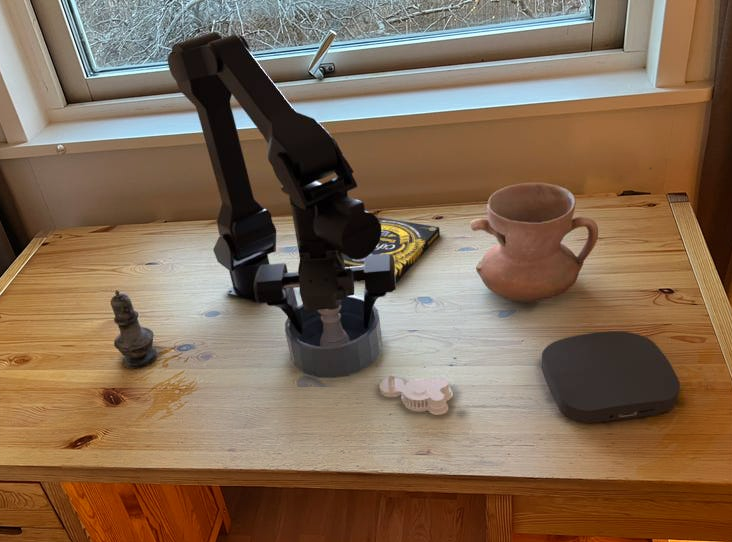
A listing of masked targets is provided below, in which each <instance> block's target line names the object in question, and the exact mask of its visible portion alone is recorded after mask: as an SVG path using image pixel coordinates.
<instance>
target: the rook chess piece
mask: <svg viewBox="0 0 732 542" xmlns="http://www.w3.org/2000/svg"><path fill="white" fill-rule="evenodd" d="M340 309H341V305H340V306H339V307H338V308H337V309H333V310H329V309H322V310H318V312H319V313H320V314H322V316H321V320H322V321H323V334H322V337H321V339H320V345H321V346H322V347H329V346H336V345H342V344H345V343H348V342H350V339H349V336H348V335H347V333H346V332H345V331H344V330H343V328H342V325H341V322H340V318H341V315H340V313H339V311H340Z"/></svg>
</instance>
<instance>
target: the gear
mask: <svg viewBox="0 0 732 542" xmlns="http://www.w3.org/2000/svg"><path fill="white" fill-rule="evenodd" d="M449 385H450V383H449V380H448V378H444V377H438V378H437V377H436V378H435V379H434V380H433V381H432V380H430V379H427V378H415V379H410V380H408V381H407V382H406V383H405V381H404V380H403V379H402V378H400V377H396V376H393V375H389V376H388V377H387V378H384V379H382V380H381V382H380V383H379V391H380V394H381V395H382V396H383V397H386V398H398V397H399V396H400V397H401V402H402V403H403V405H404V407H405V408H406V409H408V410H409V411H412V412H426V411H427V412H429V413H430V414H432V415H434V416H442V415H444V414H446V413H447V412H448V411H449V405H448V403H447V402H448V401H450V400H451V399H452V398H453V394H454V393H453V391H452V389H451V387H450V386H449Z"/></svg>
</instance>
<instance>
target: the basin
mask: <svg viewBox="0 0 732 542" xmlns="http://www.w3.org/2000/svg"><path fill="white" fill-rule="evenodd" d="M340 305H341V309H340V311H339V313H340V315H341V318H340V322H341V325H342V328H343V330H344V331H345V332H346V333H347V335H348V336H349V339H350V342H348V343H345V344H342V345H336V346H329V347H322V346H321V345H320V339H321V337H322V334H323V321H322V320H321V316H322V314H320V313H319V312H318V310H315V311H307V310H305V309H304V306H303V303H302V304H300V305H298V308H299V312H300V316H301V320H302V328H303V331H302V334H299V333H298V331H297V330H296V328H295V327H294V325H293V324H292V322H291V321H290V319H289V318H288V317H287V318H286V320H285V322H284V332H285V338H286V342H287V347H288V348H287V349H288V351H289V356H290V361H291V362H292V363H293V365H294V367H295V368H296V369H298V370H299V371H300V372H302V373H303V374H305V375H309V376H312V377H315V378H320V379H321V378H322V379H337V378H344V377H349V376H351V375H354V374H358V373H361V372H362V371H364V370H365V369H367V368H368V367H370V366H372V365H373V364H374V363H375V362H376V361H377V359H378V358H379V357H380V355H381V353H382V351H383V347H384V345H383V337H382V329H381V319H380V315H379V314H380V313H379V309H378V308H377V307H376V306H375V305H374V306H373V308H372V312H371V316H370V320H369V324H368V327H367V328H366V329H365V328H364V323H363V314H364V297H362V296H357V295H351V296H347V299H344V300H341V304H340Z"/></svg>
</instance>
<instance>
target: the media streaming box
mask: <svg viewBox="0 0 732 542" xmlns="http://www.w3.org/2000/svg"><path fill="white" fill-rule="evenodd" d="M540 366H541V371H542V374H543V377H544V380H545V382H546V384H547V386H548V389H549V392H550V393H551V396H552V397H553V400H554V401H555V403H556V405H557V407H558V408H559V411H560V412H561V413H562V414H564V415H565V416H566V417H567V418H569V419H571V420H575V421H578V422H581V423H602V422H604V423H605V422H611V421H612V422H613V421H620V420H628V419H634V418H635V419H636V418H642V417H648V416H654V415H660V414H664V413H666V412H669V411H670V410H672V409H673V408H674V407H676V405H677V402H678V399H679V393H680V389H681V384H680V380H679V378H678V376H677V374H676V372H675V370H674V368H673V366H672V365H671V363H670V361H669V359H668V358H667V357H666V355H665V354H664V352H663V351H662V350H661V349H660V347H658V345H657V344H656V343H655V342H654V341H653V340H651V339H650V338H648V337H646V336H644V335H641V334H639V333H634V332H629V331H623V330H619V331H618V330H616V331H615V330H614V331H612V330H611V331H610V330H609V331H599V332H598V331H596V332H589V333H583V334H577V335H572V336H569V337H564V338H561V339H557V340H555V341H553V342H551V343H550V344H548V345H547V346H546V347H545V348H544V349H543V351H542V352H541V365H540Z"/></svg>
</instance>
